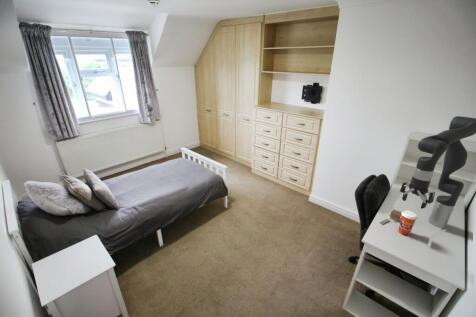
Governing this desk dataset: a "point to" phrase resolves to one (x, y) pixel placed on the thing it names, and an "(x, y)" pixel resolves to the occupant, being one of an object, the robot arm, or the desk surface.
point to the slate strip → (384, 221)
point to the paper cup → (407, 222)
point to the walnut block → (395, 215)
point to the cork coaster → (394, 220)
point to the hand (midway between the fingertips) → (412, 204)
